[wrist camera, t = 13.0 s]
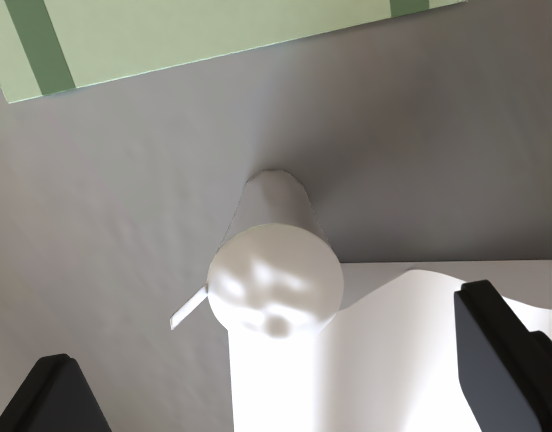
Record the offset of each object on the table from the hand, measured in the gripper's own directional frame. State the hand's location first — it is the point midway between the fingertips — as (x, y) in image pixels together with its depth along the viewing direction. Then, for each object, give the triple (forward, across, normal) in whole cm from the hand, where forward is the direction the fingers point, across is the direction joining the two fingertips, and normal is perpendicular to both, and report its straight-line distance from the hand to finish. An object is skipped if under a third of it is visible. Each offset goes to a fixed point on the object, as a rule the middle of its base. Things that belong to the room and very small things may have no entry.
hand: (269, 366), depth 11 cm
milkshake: (+12, 0, +1) cm, 12 cm away
